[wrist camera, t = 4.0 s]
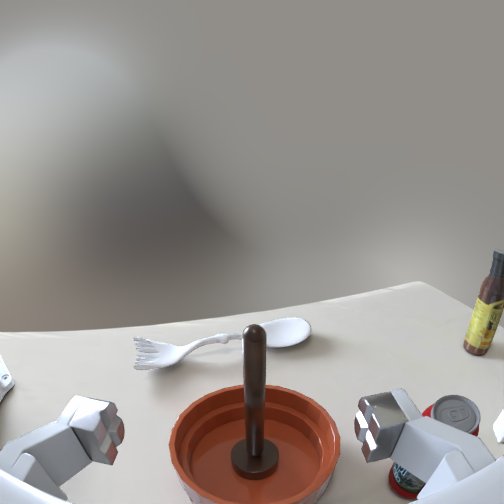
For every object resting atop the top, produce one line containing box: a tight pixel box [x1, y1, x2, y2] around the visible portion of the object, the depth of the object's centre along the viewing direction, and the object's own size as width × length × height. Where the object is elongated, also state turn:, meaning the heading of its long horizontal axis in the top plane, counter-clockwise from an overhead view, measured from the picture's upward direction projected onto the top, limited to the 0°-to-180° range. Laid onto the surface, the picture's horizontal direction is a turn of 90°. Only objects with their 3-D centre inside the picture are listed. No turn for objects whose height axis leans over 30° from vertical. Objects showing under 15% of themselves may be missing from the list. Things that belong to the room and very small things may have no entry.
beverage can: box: [389, 395, 480, 498], centre depth 20 cm, size 7×7×12 cm
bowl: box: [169, 385, 340, 504], centre depth 26 cm, size 17×17×6 cm
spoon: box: [133, 317, 311, 370], centre depth 49 cm, size 9×32×4 cm, turn 110°
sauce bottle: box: [464, 249, 504, 355], centre depth 40 cm, size 6×6×20 cm
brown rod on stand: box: [231, 324, 279, 480], centre depth 24 cm, size 5×5×19 cm
